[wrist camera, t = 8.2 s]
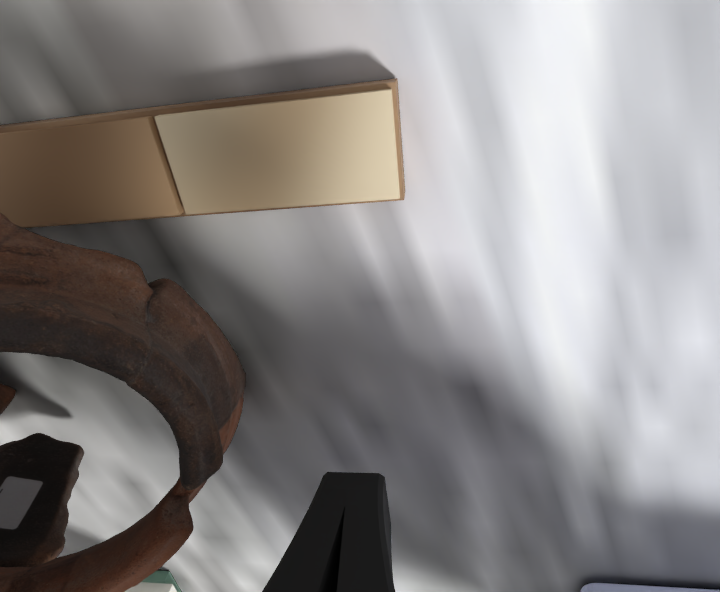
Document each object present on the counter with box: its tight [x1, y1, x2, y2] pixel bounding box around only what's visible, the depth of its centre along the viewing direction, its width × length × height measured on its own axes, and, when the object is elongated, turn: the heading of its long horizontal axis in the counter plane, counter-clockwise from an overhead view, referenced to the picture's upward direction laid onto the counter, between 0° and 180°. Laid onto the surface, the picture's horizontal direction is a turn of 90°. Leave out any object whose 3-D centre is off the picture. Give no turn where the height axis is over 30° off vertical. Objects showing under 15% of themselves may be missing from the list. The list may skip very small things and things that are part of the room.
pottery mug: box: [0, 213, 246, 592], centre depth 12 cm, size 12×9×8 cm
